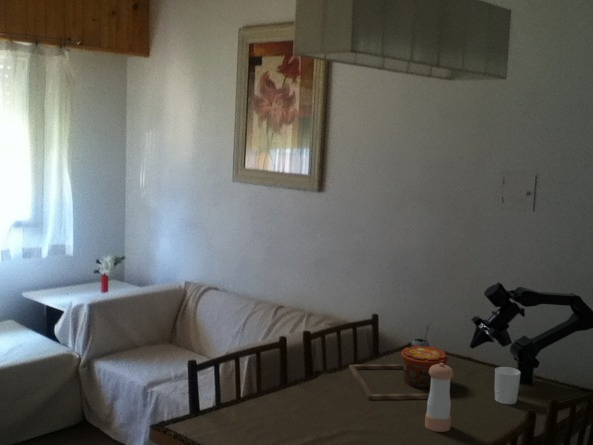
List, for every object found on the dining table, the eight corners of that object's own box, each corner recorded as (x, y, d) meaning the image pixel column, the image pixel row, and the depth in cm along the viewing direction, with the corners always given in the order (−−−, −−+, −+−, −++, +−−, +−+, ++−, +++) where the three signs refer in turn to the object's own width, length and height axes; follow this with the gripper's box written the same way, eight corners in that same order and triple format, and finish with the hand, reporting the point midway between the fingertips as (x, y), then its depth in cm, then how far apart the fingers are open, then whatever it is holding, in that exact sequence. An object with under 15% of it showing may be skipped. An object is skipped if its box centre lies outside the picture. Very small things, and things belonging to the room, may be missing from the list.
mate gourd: (409, 363, 260) (412, 324, 258) (410, 356, 267) (412, 318, 266) (430, 365, 259) (432, 325, 257) (429, 358, 266) (432, 320, 264)
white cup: (519, 406, 222) (521, 376, 220) (493, 403, 223) (496, 373, 222) (516, 397, 229) (519, 368, 228) (492, 394, 231) (494, 365, 230)
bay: (417, 367, 256) (417, 364, 255) (445, 398, 226) (445, 395, 226) (348, 367, 252) (349, 364, 252) (368, 399, 222) (368, 396, 222)
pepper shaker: (435, 433, 199) (439, 368, 196) (419, 423, 205) (423, 360, 203) (455, 429, 202) (459, 365, 200) (439, 420, 209) (443, 357, 206)
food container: (394, 386, 236) (396, 355, 234) (405, 371, 250) (407, 342, 249) (441, 394, 230) (443, 362, 228) (450, 379, 245) (452, 349, 243)
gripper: (530, 340, 233) (496, 372, 233) (506, 324, 252) (475, 354, 252) (509, 317, 231) (475, 350, 231) (487, 303, 249) (455, 333, 249)
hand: (470, 347), depth 241 cm, fingers closed
